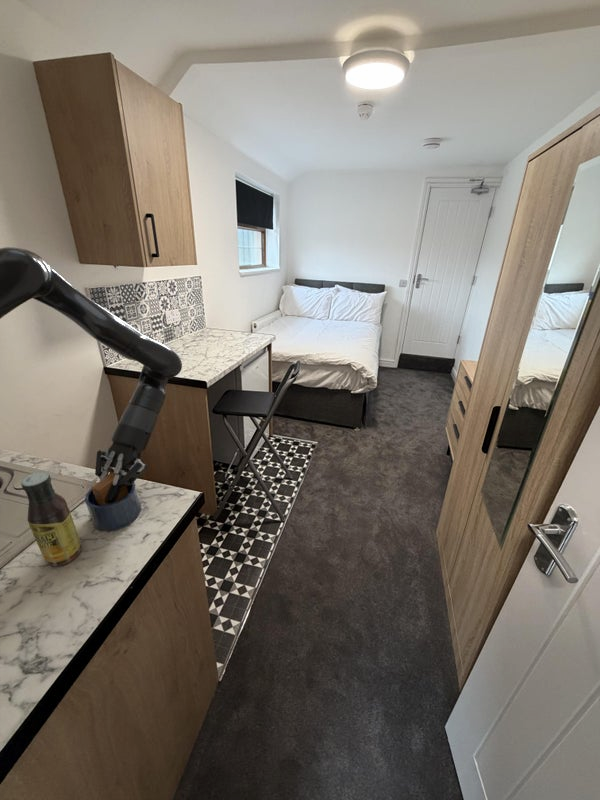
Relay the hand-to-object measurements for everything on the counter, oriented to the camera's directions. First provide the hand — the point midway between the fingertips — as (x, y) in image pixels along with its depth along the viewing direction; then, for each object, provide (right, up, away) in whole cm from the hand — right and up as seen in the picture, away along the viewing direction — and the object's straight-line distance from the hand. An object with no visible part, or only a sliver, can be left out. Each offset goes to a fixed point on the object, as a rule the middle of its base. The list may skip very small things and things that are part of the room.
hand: (103, 500), depth 72 cm
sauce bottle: (-4, -10, -6) cm, 12 cm away
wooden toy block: (+1, -3, +4) cm, 5 cm away
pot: (+1, -5, +4) cm, 7 cm away
